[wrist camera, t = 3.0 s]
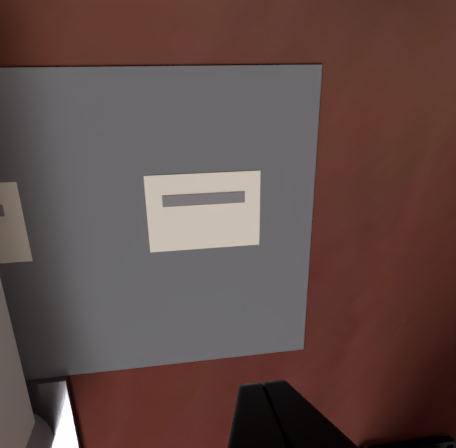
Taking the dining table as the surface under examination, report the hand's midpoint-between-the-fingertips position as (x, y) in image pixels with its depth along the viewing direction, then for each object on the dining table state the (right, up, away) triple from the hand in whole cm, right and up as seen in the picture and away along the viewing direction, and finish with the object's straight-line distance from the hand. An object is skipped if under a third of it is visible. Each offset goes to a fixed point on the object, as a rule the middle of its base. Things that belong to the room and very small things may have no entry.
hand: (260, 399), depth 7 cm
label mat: (-7, +3, +10) cm, 12 cm away
